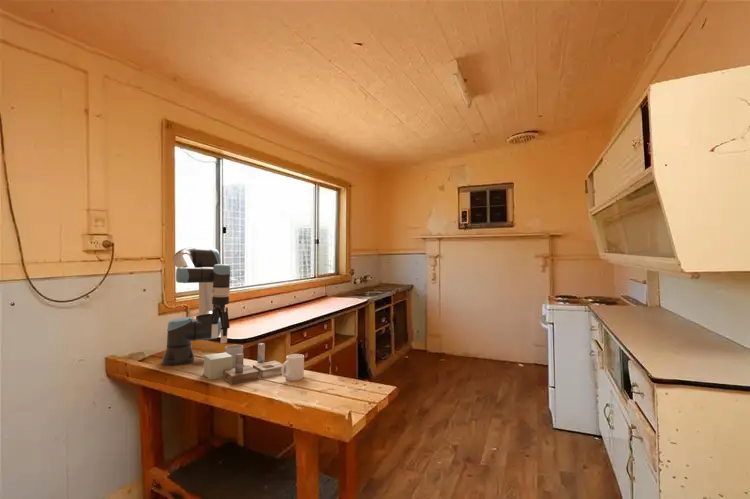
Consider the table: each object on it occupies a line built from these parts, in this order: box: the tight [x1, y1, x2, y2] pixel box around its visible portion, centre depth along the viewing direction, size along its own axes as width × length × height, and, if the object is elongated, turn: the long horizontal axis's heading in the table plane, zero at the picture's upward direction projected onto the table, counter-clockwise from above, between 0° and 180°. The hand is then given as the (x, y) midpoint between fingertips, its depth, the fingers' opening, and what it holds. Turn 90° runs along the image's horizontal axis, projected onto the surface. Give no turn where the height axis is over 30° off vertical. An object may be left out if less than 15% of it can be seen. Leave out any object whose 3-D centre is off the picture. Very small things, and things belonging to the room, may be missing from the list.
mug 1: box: [224, 344, 244, 368], centre depth 181 cm, size 11×10×10 cm
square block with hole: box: [252, 360, 286, 379], centre depth 169 cm, size 12×12×4 cm
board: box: [222, 353, 260, 385], centre depth 160 cm, size 12×12×12 cm
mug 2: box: [280, 353, 305, 382], centre depth 160 cm, size 12×8×10 cm
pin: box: [257, 342, 266, 364], centre depth 178 cm, size 3×3×12 cm
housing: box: [202, 351, 233, 381], centre depth 165 cm, size 10×10×9 cm
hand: (218, 340), depth 166 cm, fingers open, 13 cm apart
